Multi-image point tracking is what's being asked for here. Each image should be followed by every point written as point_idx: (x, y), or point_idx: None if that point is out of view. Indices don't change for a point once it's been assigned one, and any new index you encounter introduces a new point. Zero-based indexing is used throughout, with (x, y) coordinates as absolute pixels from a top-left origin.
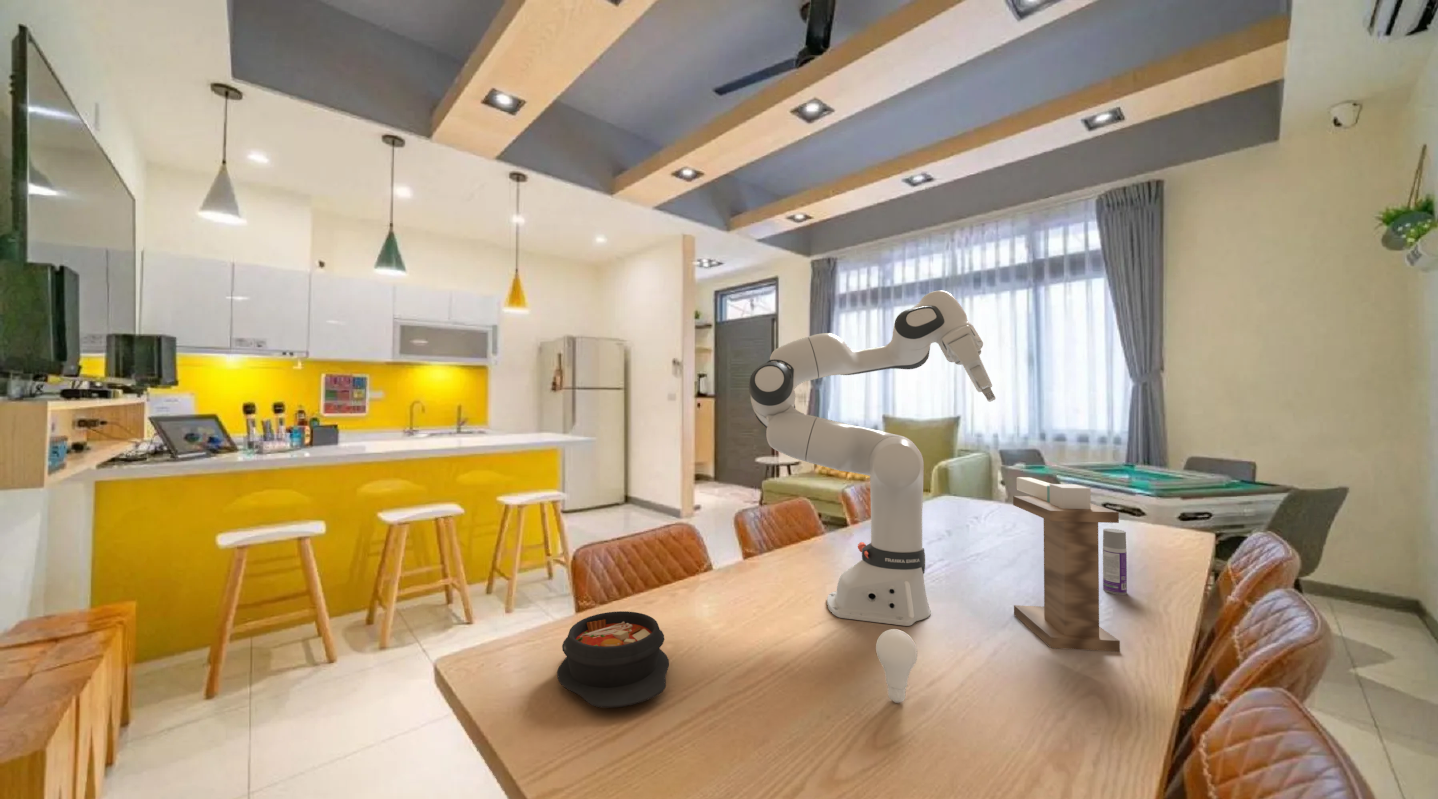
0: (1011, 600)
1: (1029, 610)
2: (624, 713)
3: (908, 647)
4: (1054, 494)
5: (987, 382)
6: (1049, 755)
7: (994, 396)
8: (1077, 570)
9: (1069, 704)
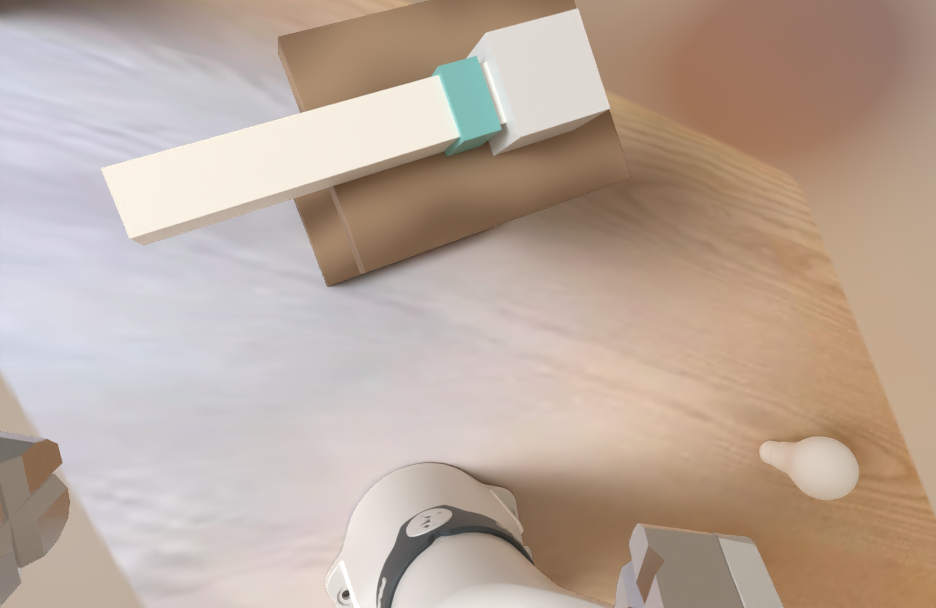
0: (216, 287)
1: (349, 253)
2: None
3: (849, 449)
4: (541, 135)
5: (756, 559)
6: (789, 271)
7: (40, 441)
8: None
9: (672, 231)
